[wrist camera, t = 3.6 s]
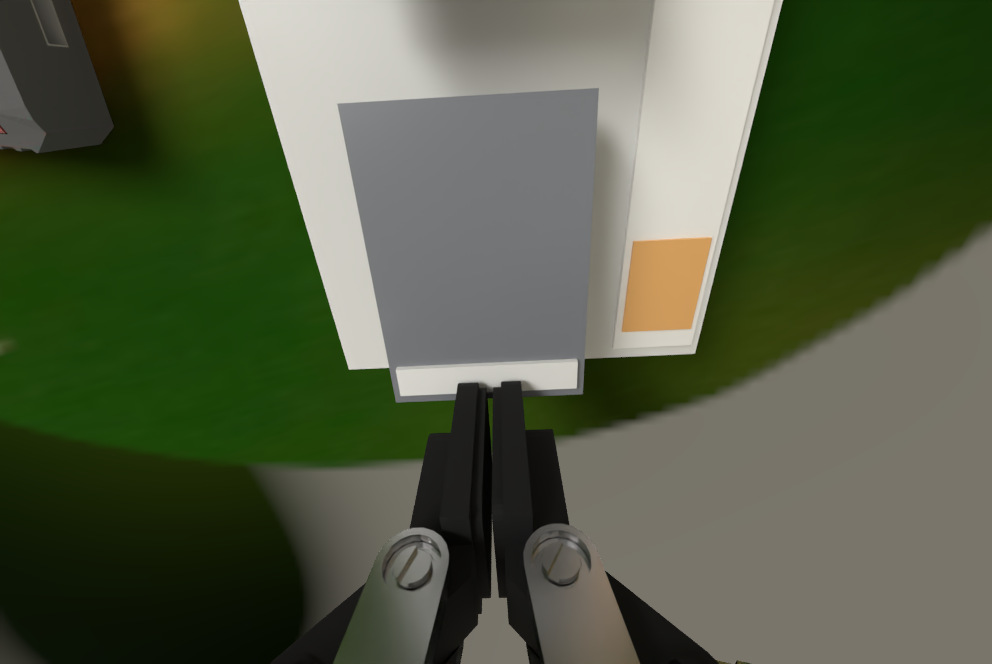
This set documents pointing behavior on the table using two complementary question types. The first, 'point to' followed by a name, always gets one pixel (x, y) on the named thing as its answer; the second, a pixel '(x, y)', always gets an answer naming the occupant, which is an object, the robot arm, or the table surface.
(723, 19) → the switch unit
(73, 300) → the table surface
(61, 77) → the walkie-talkie
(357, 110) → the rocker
